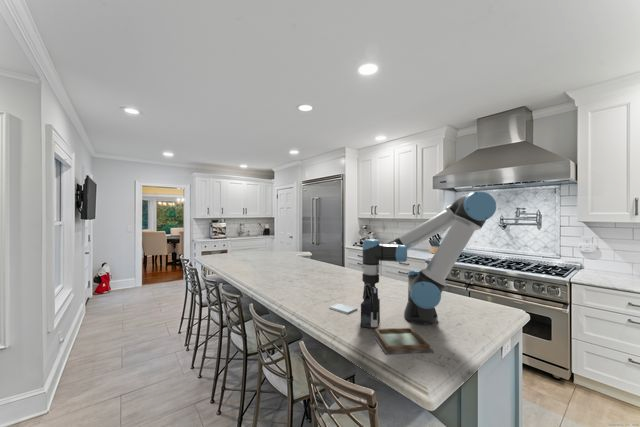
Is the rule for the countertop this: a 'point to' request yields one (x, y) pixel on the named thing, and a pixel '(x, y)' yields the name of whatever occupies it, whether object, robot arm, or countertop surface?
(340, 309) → the hard drive
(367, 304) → the small box
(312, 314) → the countertop surface
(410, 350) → the wooden picture frame
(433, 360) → the countertop surface
